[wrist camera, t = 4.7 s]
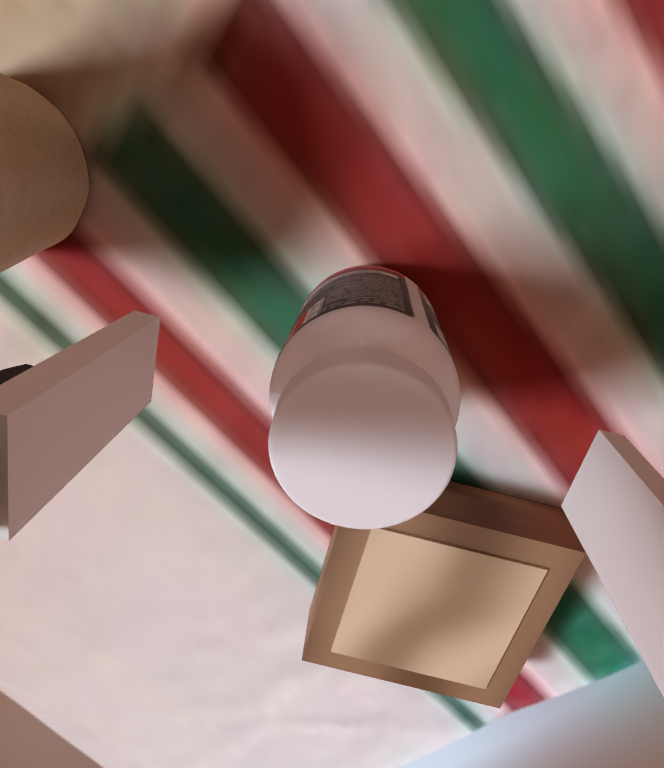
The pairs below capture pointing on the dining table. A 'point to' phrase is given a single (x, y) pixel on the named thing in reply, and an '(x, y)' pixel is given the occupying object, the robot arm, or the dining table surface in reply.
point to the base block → (444, 594)
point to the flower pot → (36, 174)
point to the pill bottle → (364, 402)
